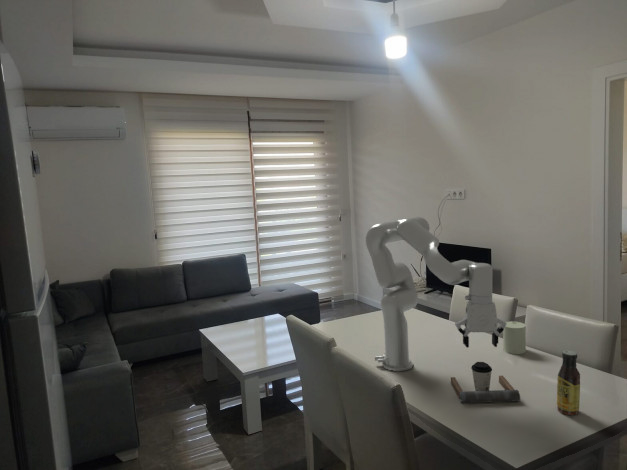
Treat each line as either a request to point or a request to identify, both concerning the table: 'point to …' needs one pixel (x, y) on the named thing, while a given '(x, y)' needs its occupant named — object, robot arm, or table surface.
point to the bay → (487, 393)
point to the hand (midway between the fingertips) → (480, 345)
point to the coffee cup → (481, 376)
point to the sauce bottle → (568, 385)
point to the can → (514, 338)
